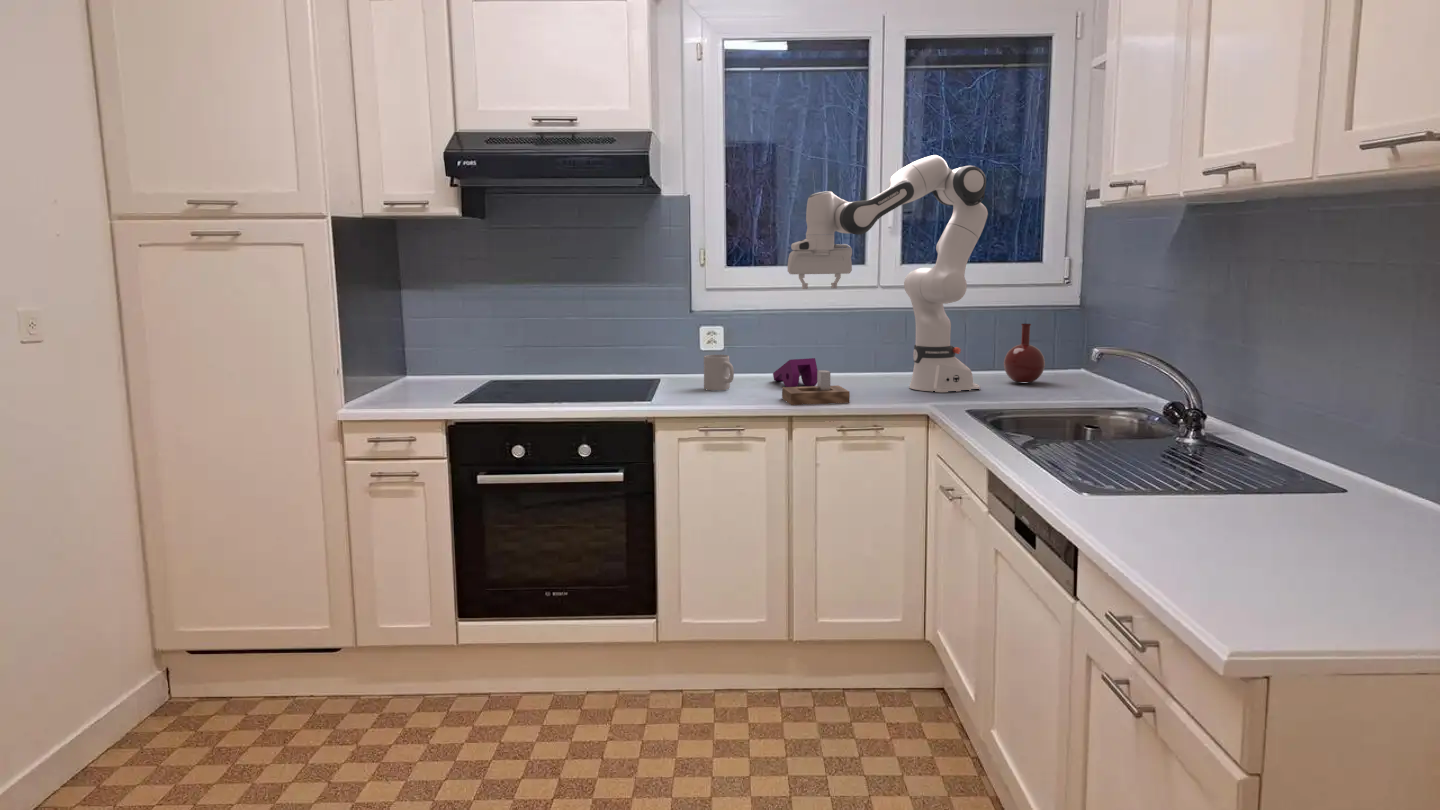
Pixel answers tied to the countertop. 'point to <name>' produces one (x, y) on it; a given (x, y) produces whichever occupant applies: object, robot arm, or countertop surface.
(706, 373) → the mug
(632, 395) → the countertop surface
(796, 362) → the mounting bracket
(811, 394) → the well block
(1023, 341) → the round-bottom flask
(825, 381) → the angle bracket
